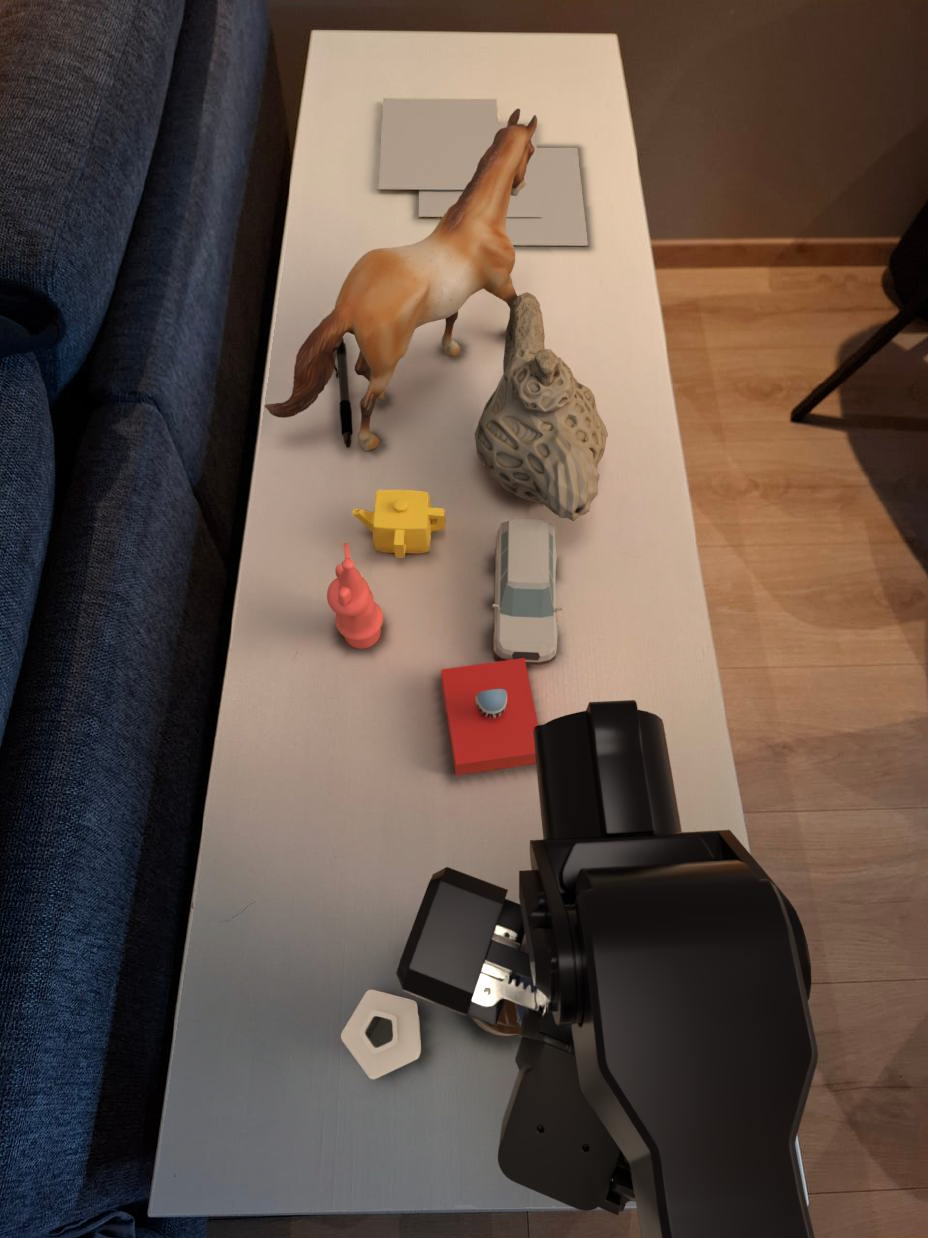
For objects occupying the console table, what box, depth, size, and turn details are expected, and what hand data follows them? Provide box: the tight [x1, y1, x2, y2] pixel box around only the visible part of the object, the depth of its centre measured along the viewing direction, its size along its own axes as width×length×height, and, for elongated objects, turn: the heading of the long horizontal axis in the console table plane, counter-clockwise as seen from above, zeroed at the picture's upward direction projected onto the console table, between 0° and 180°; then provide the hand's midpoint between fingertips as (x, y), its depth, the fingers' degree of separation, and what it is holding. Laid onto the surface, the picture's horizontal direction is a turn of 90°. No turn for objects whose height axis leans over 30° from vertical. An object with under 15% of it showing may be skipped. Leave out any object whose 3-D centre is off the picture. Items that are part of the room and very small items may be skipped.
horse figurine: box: [264, 108, 538, 451], centre depth 77 cm, size 31×8×21 cm, turn 133°
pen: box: [333, 337, 354, 449], centre depth 84 cm, size 14×2×1 cm, turn 7°
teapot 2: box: [474, 292, 609, 522], centre depth 75 cm, size 21×12×15 cm, turn 12°
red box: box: [440, 658, 539, 776], centre depth 67 cm, size 8×7×6 cm
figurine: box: [326, 542, 384, 650], centre depth 68 cm, size 4×4×12 cm
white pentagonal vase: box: [340, 989, 422, 1080], centre depth 53 cm, size 5×4×15 cm
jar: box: [470, 950, 529, 1037], centre depth 57 cm, size 6×6×9 cm
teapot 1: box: [352, 489, 447, 559], centre depth 75 cm, size 8×6×5 cm
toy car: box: [491, 518, 563, 666], centre depth 73 cm, size 6×13×5 cm, turn 178°
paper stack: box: [378, 97, 589, 247], centre depth 100 cm, size 23×25×1 cm
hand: (570, 1002), depth 50 cm, fingers closed on jar lid, 6 cm apart
